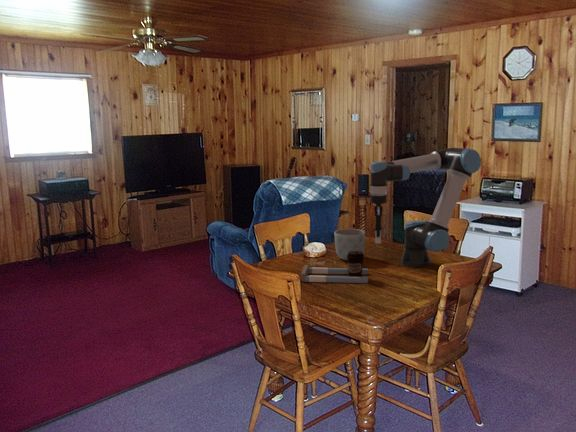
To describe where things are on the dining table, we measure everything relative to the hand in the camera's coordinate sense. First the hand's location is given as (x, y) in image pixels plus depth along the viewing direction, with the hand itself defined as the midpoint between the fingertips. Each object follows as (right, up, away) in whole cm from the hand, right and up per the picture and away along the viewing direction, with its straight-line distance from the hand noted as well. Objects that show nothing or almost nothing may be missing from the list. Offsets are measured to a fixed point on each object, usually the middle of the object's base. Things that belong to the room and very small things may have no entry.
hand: (378, 243), depth 253 cm
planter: (-9, -11, +40) cm, 42 cm away
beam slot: (-19, -17, +6) cm, 27 cm away
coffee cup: (-10, -18, +5) cm, 21 cm away
